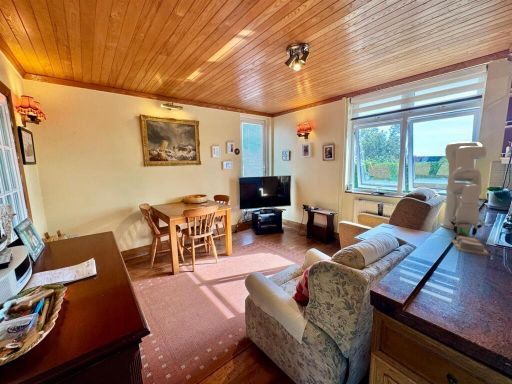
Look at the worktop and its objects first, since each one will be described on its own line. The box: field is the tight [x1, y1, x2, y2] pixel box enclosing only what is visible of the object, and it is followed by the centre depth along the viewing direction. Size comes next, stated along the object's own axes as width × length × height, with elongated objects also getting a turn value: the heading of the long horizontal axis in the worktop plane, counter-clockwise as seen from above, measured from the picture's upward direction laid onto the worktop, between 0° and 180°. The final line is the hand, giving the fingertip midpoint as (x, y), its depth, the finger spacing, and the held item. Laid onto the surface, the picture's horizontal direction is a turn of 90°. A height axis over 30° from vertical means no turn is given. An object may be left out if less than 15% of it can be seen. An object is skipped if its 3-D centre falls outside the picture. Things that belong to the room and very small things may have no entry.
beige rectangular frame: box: [451, 235, 490, 256], centre depth 121 cm, size 16×12×4 cm
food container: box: [455, 223, 474, 237], centre depth 135 cm, size 12×6×10 cm, turn 143°
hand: (464, 233), depth 135 cm, fingers open, 7 cm apart
